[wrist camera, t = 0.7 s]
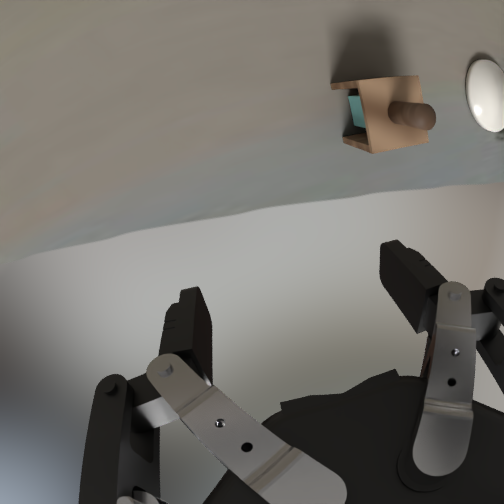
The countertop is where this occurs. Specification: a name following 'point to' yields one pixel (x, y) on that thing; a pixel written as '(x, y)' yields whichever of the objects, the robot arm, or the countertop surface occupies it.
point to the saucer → (486, 94)
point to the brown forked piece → (390, 113)
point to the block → (357, 111)
